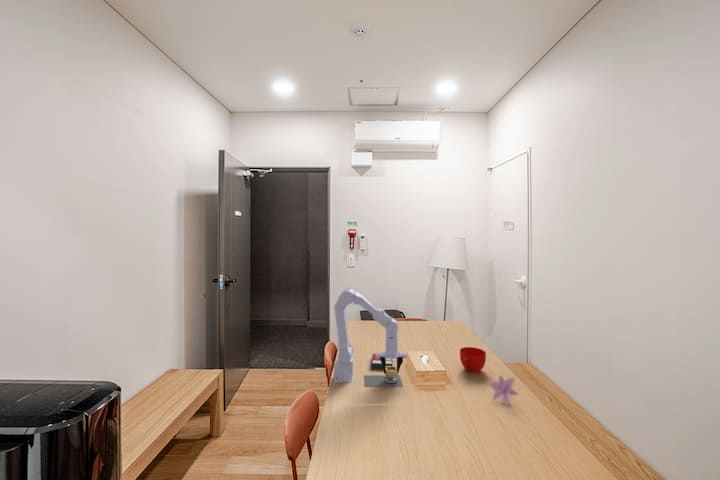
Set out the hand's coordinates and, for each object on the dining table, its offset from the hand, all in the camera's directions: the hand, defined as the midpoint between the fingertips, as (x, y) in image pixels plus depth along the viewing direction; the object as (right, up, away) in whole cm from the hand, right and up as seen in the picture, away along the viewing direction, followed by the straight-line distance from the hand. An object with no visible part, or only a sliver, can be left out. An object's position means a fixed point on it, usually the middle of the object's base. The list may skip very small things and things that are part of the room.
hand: (391, 372), depth 154 cm
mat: (-4, -4, 0) cm, 6 cm away
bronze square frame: (0, -1, 0) cm, 1 cm away
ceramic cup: (+43, -5, +12) cm, 45 cm away
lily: (+47, -6, -15) cm, 50 cm away
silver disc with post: (0, -4, 0) cm, 4 cm away
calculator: (-3, -5, +20) cm, 21 cm away
